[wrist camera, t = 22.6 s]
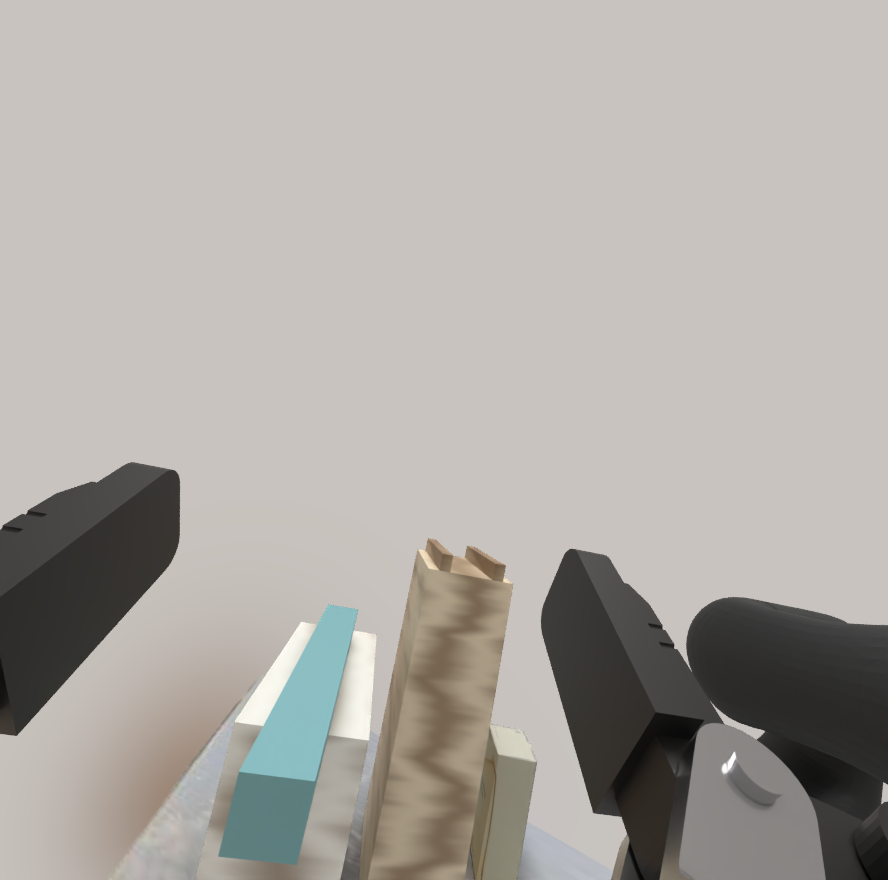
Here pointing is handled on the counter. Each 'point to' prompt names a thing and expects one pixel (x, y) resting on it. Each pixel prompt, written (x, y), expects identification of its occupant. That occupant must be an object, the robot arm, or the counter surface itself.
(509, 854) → the skincare box
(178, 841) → the counter surface
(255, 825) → the rod
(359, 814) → the counter surface
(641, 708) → the robot arm
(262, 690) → the stepped wooden blocks
